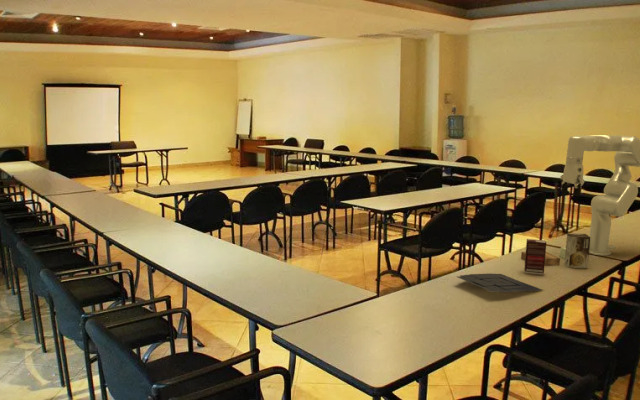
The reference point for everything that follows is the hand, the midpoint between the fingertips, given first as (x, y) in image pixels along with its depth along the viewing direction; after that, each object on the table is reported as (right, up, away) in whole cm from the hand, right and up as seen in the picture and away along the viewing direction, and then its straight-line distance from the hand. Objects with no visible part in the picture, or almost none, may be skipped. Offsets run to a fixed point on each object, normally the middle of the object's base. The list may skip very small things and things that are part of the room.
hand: (570, 194), depth 260 cm
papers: (-50, -42, -37) cm, 75 cm away
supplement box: (-26, -38, -17) cm, 49 cm away
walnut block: (-15, -35, +1) cm, 38 cm away
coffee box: (0, -36, -6) cm, 37 cm away
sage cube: (+2, -33, +8) cm, 34 cm away
